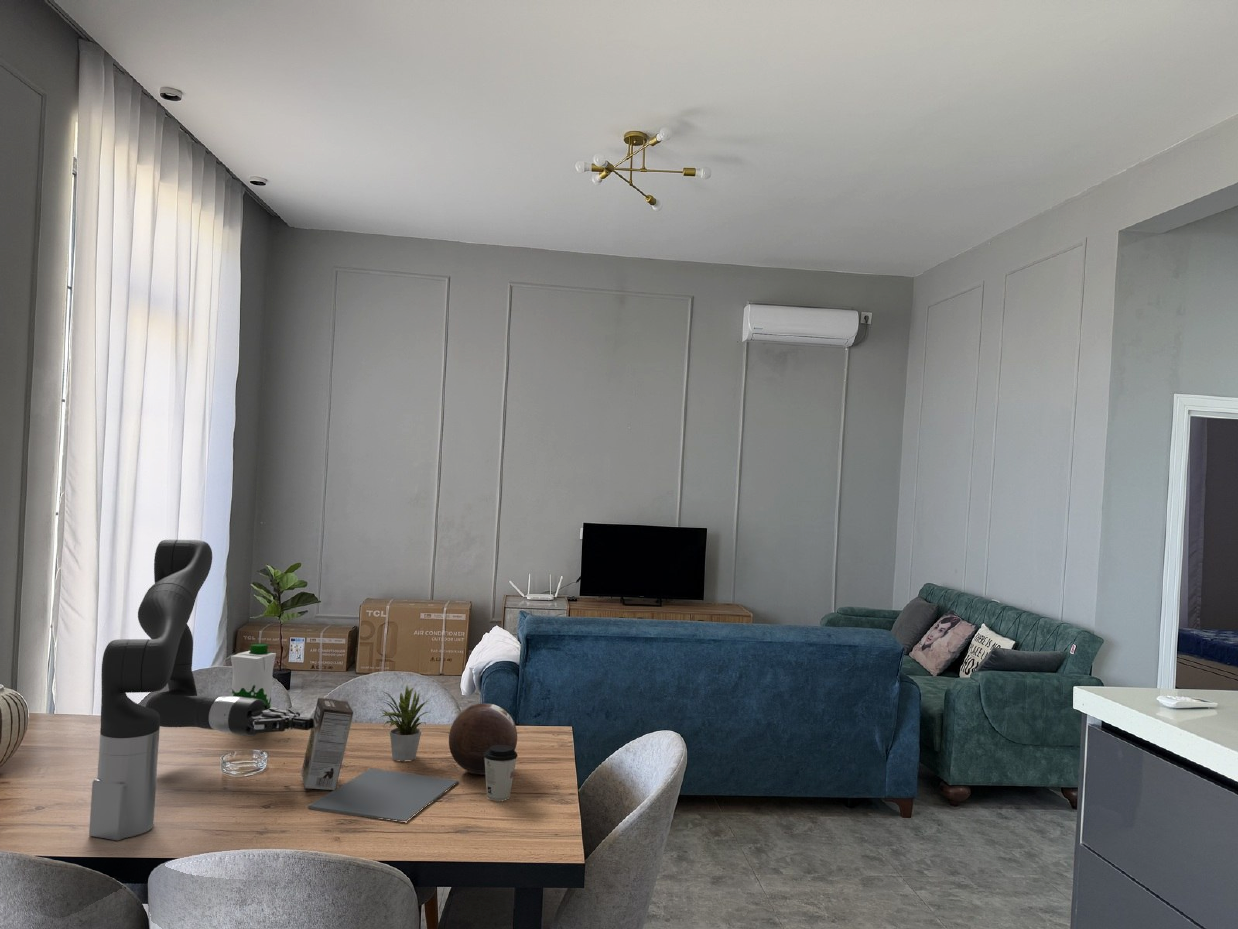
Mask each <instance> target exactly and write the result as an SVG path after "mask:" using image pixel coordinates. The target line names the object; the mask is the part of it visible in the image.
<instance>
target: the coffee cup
mask: <svg viewBox="0 0 1238 929" xmlns="http://www.w3.org/2000/svg"><path fill="white" fill-rule="evenodd" d="M484 757H485V773H486V774H485V787H486V798H487V797H488V798H489V799H491V800H495V801H494V802H503V801H502V800H505V799H508V798H509V799H510V796H511V791H512V784H513V779H514V773H515V768H516V762H517V758H518V753H517V751H516V750H515V751H514V748H513V747H512V746H507V745H494V746H491V747H490V748H489V750H487V751H485V753H484ZM489 799H488V800H489ZM509 799H508V800H509ZM491 800H490V801H491Z"/></svg>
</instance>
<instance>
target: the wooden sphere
mask: <svg viewBox="0 0 1238 929" xmlns="http://www.w3.org/2000/svg"><path fill="white" fill-rule="evenodd" d="M517 743H518V730H517V727H516V723H515V721H514V720H513V718H512V716H511V715H510V714H509V713H508V712H507V711H506V710H505V709H504V708H503V707H501V706H498V705H496V704H492V703H486V702H485V703H484V702H483V703H476V704H473V705H471V706H468V707H467V708H465V709H463V710H462V711H461V712H460V713H459V714H457V716H456V717H455V719H454V720H453V722H452V724H451V727H450V730H449V733H448V746H449V751H450V754H451V756H452V758H453V760H454V761H455V763H456V764H457V765H458V766H459V767H460V768H461V769H463V770H464V771H466V772H468V773H471V774H475V775H486V773H485V757H484V753H485V751H487V750H489V748H490V747H491V746H494V745H507V746H512V747H513V748H514V751H516V748H517V745H518V744H517Z"/></svg>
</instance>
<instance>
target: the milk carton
mask: <svg viewBox="0 0 1238 929" xmlns="http://www.w3.org/2000/svg"><path fill="white" fill-rule="evenodd" d="M268 648H269V644H267V643H260V642H258V643H251V644H250V650H248V651H247V650H246V651H242V652H238V653H236V654H233V655H230V659H231V660H230V661H231V666H232V685H231V696H237V697H246V698H254V699H261V700H263V701H264V702H265V704H266V706H267V707H268V709H269V708H272V706H271V705H272V689H273V688H272V687H273V672H274V666H275V661H276V656H277V653H276V652H274V653H273V652H271V651H268Z"/></svg>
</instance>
